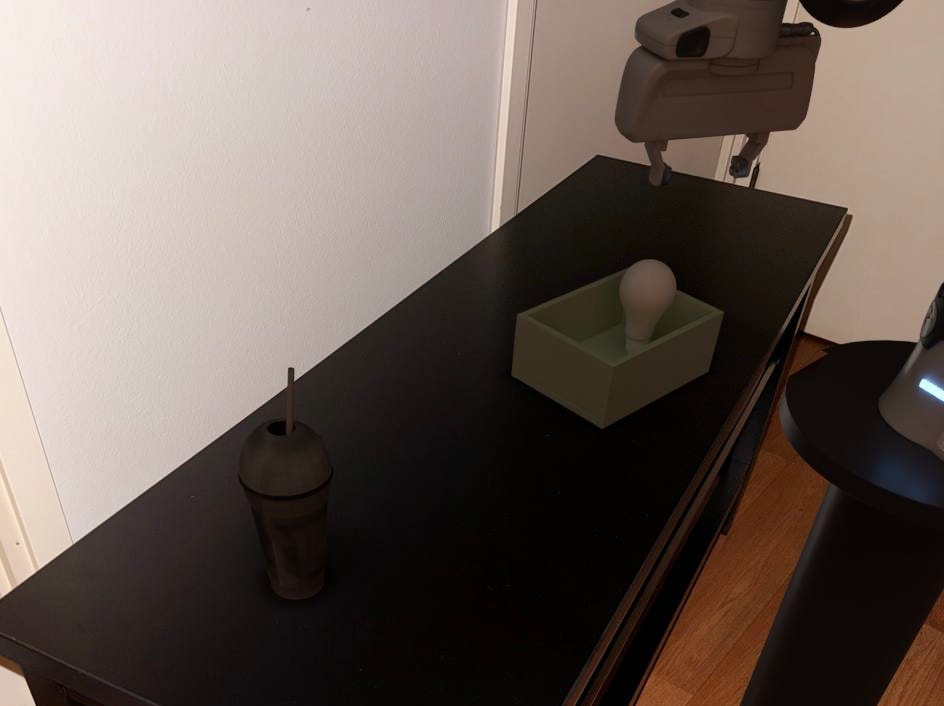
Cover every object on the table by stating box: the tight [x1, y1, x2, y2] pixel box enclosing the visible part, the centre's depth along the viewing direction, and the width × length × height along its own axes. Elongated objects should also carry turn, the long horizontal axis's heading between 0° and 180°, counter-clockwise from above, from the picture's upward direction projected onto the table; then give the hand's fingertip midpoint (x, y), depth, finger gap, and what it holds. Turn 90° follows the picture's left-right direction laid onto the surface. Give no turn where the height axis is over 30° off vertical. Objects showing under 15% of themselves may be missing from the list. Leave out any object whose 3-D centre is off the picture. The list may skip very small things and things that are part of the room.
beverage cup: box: [237, 366, 334, 601], centre depth 73 cm, size 7×7×20 cm
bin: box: [511, 266, 725, 430], centre depth 104 cm, size 19×14×7 cm
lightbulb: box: [619, 258, 677, 353], centre depth 104 cm, size 6×6×11 cm
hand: (698, 180), depth 98 cm, fingers open, 8 cm apart
